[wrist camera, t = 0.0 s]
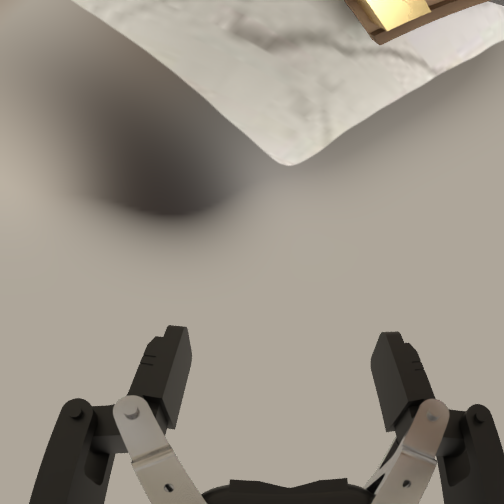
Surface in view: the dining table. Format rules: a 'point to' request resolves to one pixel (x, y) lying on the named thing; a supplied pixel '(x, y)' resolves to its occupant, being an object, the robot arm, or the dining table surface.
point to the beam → (440, 4)
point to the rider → (393, 11)
